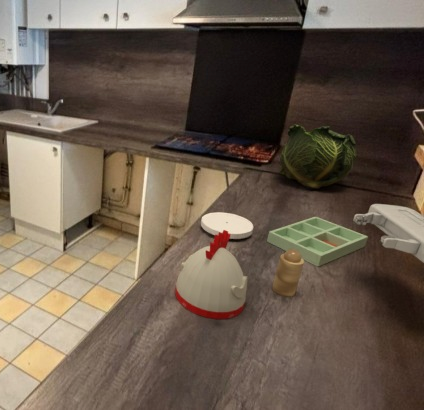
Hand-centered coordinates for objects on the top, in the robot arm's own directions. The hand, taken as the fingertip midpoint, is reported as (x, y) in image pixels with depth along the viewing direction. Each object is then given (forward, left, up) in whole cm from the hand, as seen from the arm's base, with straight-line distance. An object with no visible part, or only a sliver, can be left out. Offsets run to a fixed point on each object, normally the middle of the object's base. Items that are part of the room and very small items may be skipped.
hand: (368, 229), depth 69 cm
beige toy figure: (+7, +10, -16) cm, 20 cm away
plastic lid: (+33, -1, -16) cm, 37 cm away
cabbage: (+46, -61, -16) cm, 79 cm away
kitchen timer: (+13, +26, -16) cm, 33 cm away
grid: (+16, -16, -16) cm, 28 cm away
